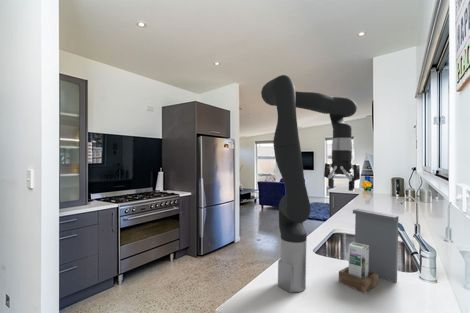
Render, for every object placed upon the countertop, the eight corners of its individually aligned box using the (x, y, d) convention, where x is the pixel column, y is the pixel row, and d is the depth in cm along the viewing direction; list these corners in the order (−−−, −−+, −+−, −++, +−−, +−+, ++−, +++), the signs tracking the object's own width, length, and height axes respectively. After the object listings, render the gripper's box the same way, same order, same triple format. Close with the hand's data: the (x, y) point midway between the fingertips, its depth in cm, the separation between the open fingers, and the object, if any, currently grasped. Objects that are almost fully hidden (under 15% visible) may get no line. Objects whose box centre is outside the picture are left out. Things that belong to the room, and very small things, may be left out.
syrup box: (347, 283, 97) (348, 244, 97) (352, 278, 101) (353, 241, 101) (364, 288, 93) (364, 248, 93) (368, 283, 98) (369, 244, 97)
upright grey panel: (392, 284, 97) (394, 217, 97) (351, 268, 110) (352, 209, 109) (397, 281, 99) (398, 216, 99) (356, 266, 112) (357, 208, 112)
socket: (365, 293, 90) (365, 281, 90) (338, 281, 98) (338, 271, 98) (378, 284, 96) (378, 274, 96) (352, 274, 104) (352, 264, 104)
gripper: (320, 149, 109) (320, 187, 109) (353, 149, 97) (352, 192, 97) (331, 149, 113) (330, 186, 113) (363, 149, 102) (362, 190, 102)
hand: (340, 189), depth 105 cm, fingers open, 8 cm apart
